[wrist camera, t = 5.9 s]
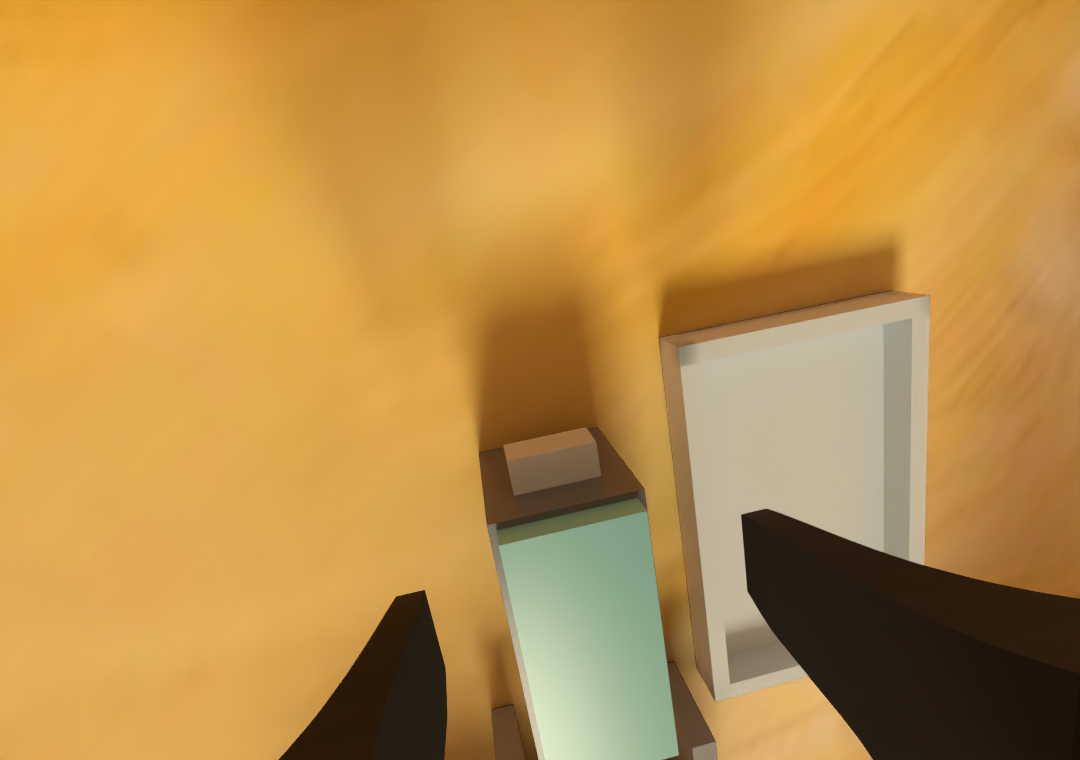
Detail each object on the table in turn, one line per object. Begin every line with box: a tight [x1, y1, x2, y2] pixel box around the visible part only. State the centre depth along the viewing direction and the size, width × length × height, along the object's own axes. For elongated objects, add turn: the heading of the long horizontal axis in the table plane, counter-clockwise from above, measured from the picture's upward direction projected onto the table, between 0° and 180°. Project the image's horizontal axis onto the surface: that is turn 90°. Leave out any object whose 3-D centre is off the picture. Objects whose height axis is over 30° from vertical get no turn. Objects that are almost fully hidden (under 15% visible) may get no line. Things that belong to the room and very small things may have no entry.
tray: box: [659, 291, 930, 702], centre depth 19 cm, size 8×13×2 cm, turn 9°
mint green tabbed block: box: [479, 427, 679, 760], centre depth 17 cm, size 4×9×6 cm, turn 9°
